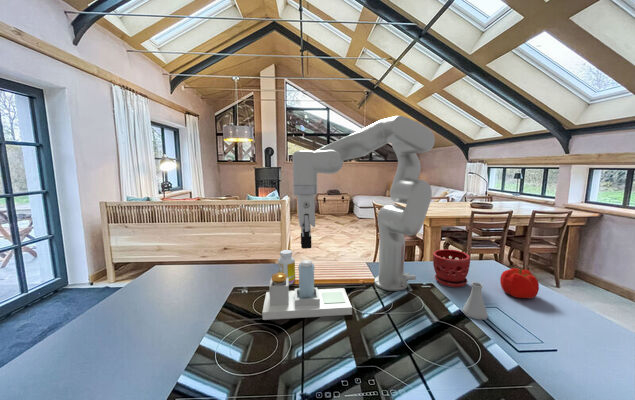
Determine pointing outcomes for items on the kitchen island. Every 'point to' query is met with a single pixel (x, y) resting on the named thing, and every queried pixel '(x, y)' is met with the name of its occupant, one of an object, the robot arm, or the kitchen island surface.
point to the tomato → (519, 283)
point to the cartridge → (306, 279)
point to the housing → (304, 303)
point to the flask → (475, 303)
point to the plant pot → (451, 267)
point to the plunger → (279, 278)
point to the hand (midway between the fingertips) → (306, 245)
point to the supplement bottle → (287, 265)
